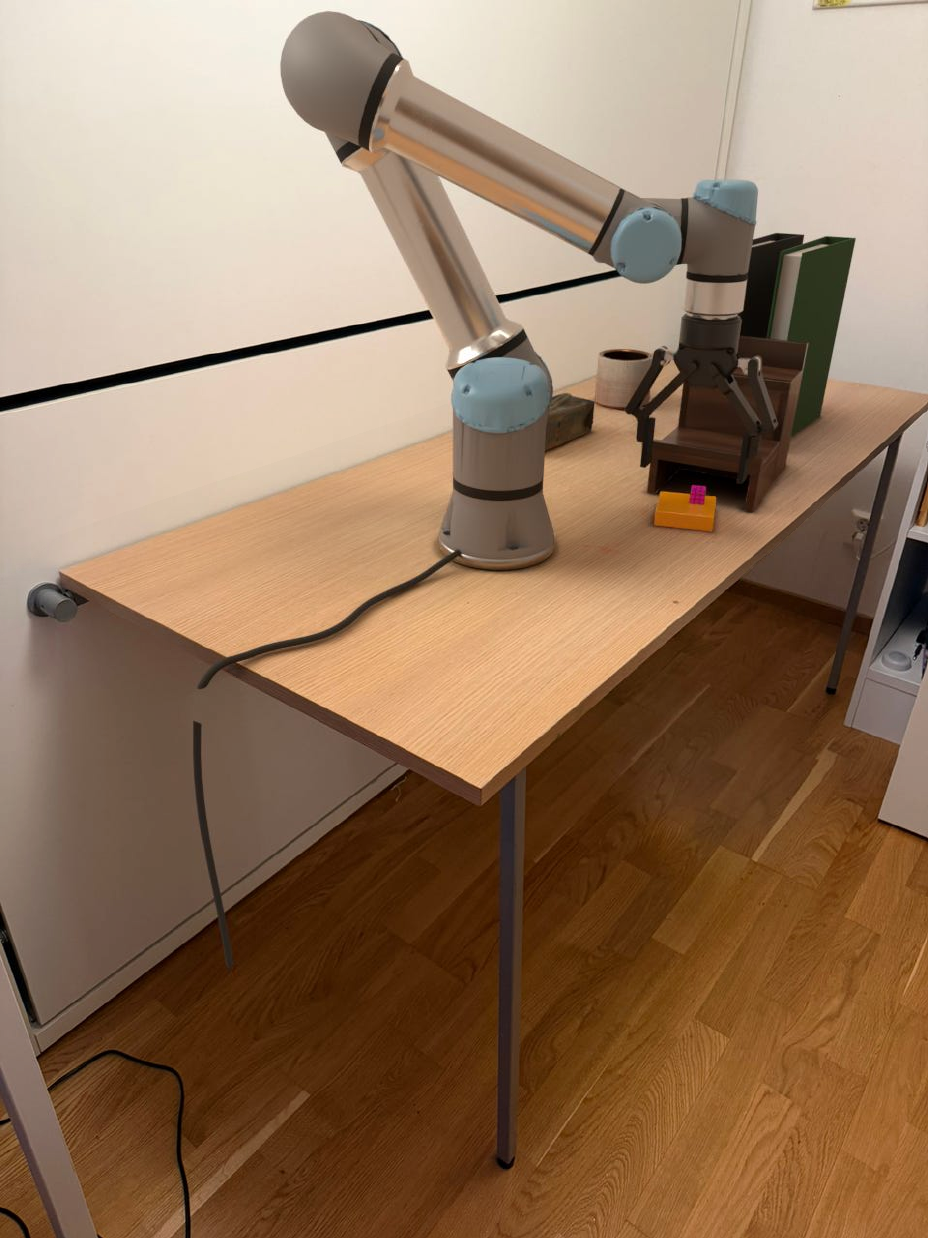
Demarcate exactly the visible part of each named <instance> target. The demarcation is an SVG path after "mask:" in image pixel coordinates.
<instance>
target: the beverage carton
mask: <svg viewBox="0 0 928 1238" xmlns="http://www.w3.org/2000/svg"><path fill="white" fill-rule="evenodd" d="M595 402H596V401H595V400H592V399H587V398H583V397H579V396H574V395H572V394H571V393H570V392H564V393H563V392H562V393H559V394H556V395H553V396H552V402H551V405H550V409H549V414H548V419H547V426H546V440H545V451H548V450H551V449H552V448H555V447H558V446H560V445H562V444H565V443H567V442H570V441H572V440H575V439H576V438H579V437H582V436H585V435H586V434H589V433H591V432H592V429H593V424H594V415H595V414H594V413H595Z"/></svg>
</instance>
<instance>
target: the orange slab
mask: <svg viewBox="0 0 928 1238" xmlns="http://www.w3.org/2000/svg"><path fill="white" fill-rule="evenodd" d="M706 492H707V486H705V485H696V484H695V485H694V484H692V485H691V487H690V493H684V492H683V493H682V492H672V491H664V490H663V491H662V490H661V491H659V496H658V498H657V499H658V500H657V504H656V507H655V513H654V519H653V521H654V522H653V526H656V527H665V528H672V529H673V528H675V529H681V530H682V529H683V530H693V531H700V532H701V531H702V532H713V530H714V523H715V516H716V504H717V497H716V496H711V495H706Z"/></svg>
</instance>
